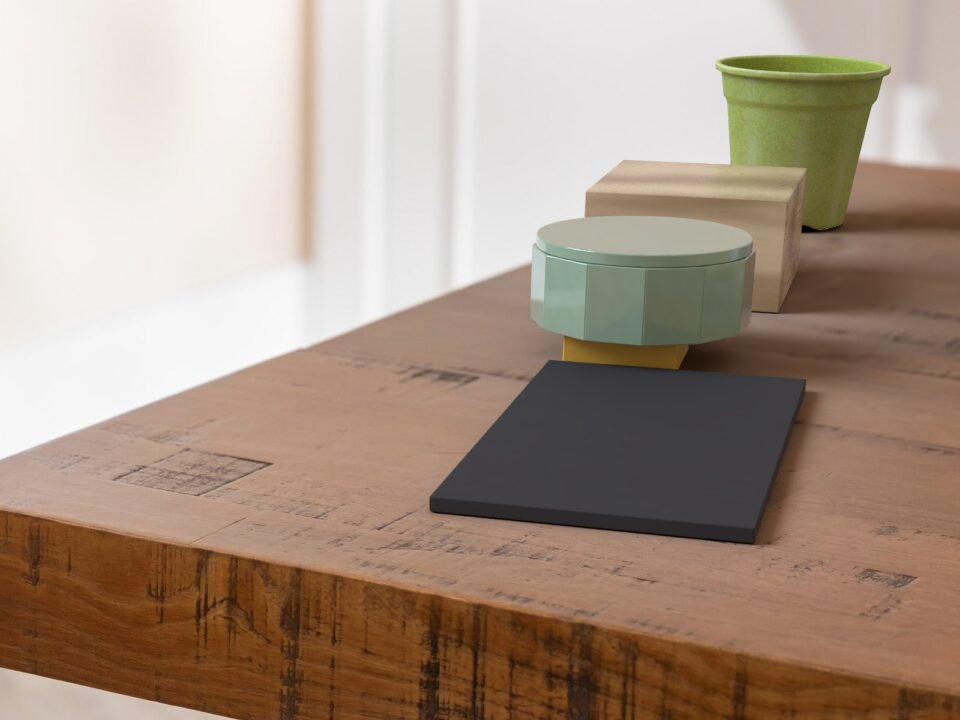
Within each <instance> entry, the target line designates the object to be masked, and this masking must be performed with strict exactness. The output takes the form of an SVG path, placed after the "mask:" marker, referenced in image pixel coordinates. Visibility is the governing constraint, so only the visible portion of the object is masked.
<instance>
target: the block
mask: <svg viewBox="0 0 960 720" xmlns="http://www.w3.org/2000/svg"><path fill="white" fill-rule="evenodd" d="M562 336H563V338H562V339H563V340H562V341H563V342H562V360H561V361H572V362H586V363H599V364H612V365H626V366H639V367H652V368H666V369H680V366H681V365H682V362H683V360H684V358H685V357H686V355H687V353H688V351H689V345H690V344H689V345H660V346H635V345H624V344H613V343H602V342H591V341H583V340H579V339H576V338H572V337H568V336H564V335H562Z"/></svg>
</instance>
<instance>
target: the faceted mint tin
mask: <svg viewBox="0 0 960 720" xmlns="http://www.w3.org/2000/svg"><path fill="white" fill-rule="evenodd" d="M535 233H536V236H535V242H534V243H533V244H532V247H531V248H532V249H531V250H532V251H531V254H532V255H531V273H530V275H531V277H530V279H531V280H530V303H529V304H530V306H529V307H530V308H529V318H530V319H531V320H533V322H535V324H537V325H538V327H539V328H540V329H542V330H543V331H546V332H549V333H553V334H556V335H560V336H563V335H564V336H568V337H572V338H576V339H579V340H583V341H591V342H602V343H613V344H624V345H635V346H660V345H701V344H707V343H710V342H716V341H720V340H725V339H730V338H734V337H739V336H740V335H741V334H742V333H743V332H744V331H745V329H747V327H748V326H749V325H750V324H751V319H752V311H751V309H752V296H753V284H754V271H755V258H756V249H754V248H753V242H754V239H753V236H752V235H751V234H750V233H748V232H746V231H744V230H742V229H739V228H736V227H733V226H729V225H725V224H720V223H715V222H709V221H703V220H695V219H686V218H675V217H659V216H601V217H587V218H584V217H579V218H577V217H576V218H571V219H565V220H560V221H556V222H552V223H548V224H545V225H543V226H541V227H540V228H539V229H537V231H536V232H535Z"/></svg>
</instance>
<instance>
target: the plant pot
mask: <svg viewBox="0 0 960 720" xmlns="http://www.w3.org/2000/svg"><path fill="white" fill-rule="evenodd" d="M714 67H715V69H716V70H717V71H718V72H721V80H722V81H721V83H722V94H723V97H724V98H725V100H726V105H727V107H726V108H727V120H728V121H727V123H728V142H729V160H730V162H729V163H730V165H751V166H773V167H796V168H807V173H806V184H805V196H804V207H803V219H802V226H806V227H809V228H810V229H812V230H814V229H826V228H829V229H833V227H834V228H837V227H836V226H838V227H840V226H842V225H843V224H844V221H845V218H846V214H847V211H848V206H849V202H850V198H851V193H852V189H853V184H854V179H855V175H856V172H857V168H858V163H859V159H860V155H861V151H862V148H863V143H864V140H865V136H866V130H867V126H868V124H869V123H868V122H869V118H870V115H871V112H872V108H873V105H874V104H875V103H876V102H877V101H878V98H879V95H880V92H881V91H880V90H881V87H882V83H883V80H884V77H887V76H889V75H890V74H891V71H892V66H891V64H887V63H885V62H882V61H876V60H870V59H863V58H855V57H848V56H838V55H837V56H835V55H818V54H817V55H816V54H753V55H737V56H730V57H723V58H719V59H717V60H716V61H715V64H714ZM841 224H842V225H841ZM839 225H840V226H839Z"/></svg>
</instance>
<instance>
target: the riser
mask: <svg viewBox="0 0 960 720" xmlns="http://www.w3.org/2000/svg"><path fill="white" fill-rule="evenodd" d="M806 173H807V168H796V167H773V166H751V165H731V164H727V163H726V164H724V163H707V162H706V163H705V162H704V163H702V162H680V161H657V160H635V159H623V160H621V161H620V162H619V163H618V164H617V165H615V166H614V167H613V168H612V169H611V170H609V171H608V172H607V173H606V174H605V175H603V176H602V177H601V178H600V179H599V180H598V181H596V182H595V183H594V184H592V185H591V186H590V187H589V188H588V189H587V190H585V195H584V217H583V218H587V217H601V216H659V217H675V218H686V219H695V220H703V221H709V222H715V223H720V224H725V225H729V226H733V227H736V228H739V229H742V230H744V231H746V232H748V233H750V234H751V235H752V236H753V239H754V242H753V248H754V249H756V258H755V271H754V284H753V296H752V309H751V312H757V313H758V312H759V313H773V314H774V313H775V314H778V313H779V311H780V310H781V307H782V305H783V304H784V301H785V298H786V297H787V295H788V293H789V291H790V288H791V286H792V283H793V281H794V280H795V277H796V275H797V273H798V270H799V266H800V265H799V263H800V253H801V252H800V251H801V239H802V229H803V228H802V227H803V225H802V219H803V207H804V196H805V184H806Z"/></svg>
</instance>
